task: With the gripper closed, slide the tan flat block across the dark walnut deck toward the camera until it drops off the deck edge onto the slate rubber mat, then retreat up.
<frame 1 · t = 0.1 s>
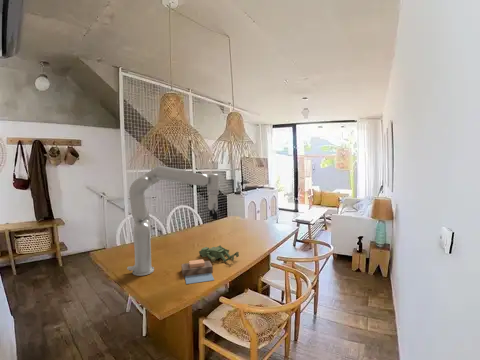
hand: (213, 217, 171), 31 cm above the table, fingers open, 9 cm apart
mat: (199, 278, 150), on the table
tan flat block: (196, 264, 160), point 4 cm above the table, touching deck
deck: (196, 271, 160), on the table
toy: (217, 258, 182), on the table
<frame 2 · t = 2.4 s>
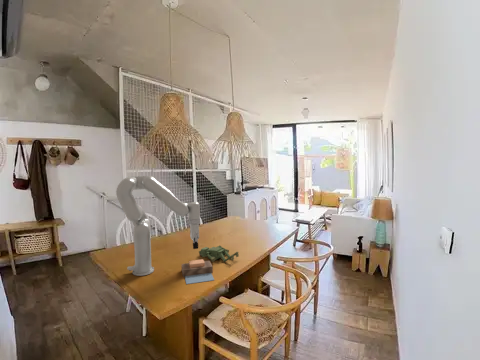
hand: (195, 248, 169), 11 cm above the table, fingers closed
nothing on the table moved.
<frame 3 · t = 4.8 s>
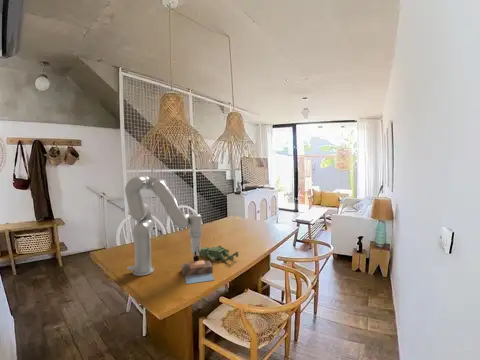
hand: (196, 262, 163), 5 cm above the table, fingers closed
tan flat block: (197, 265, 159), point 4 cm above the table, touching gripper
everything else where it was.
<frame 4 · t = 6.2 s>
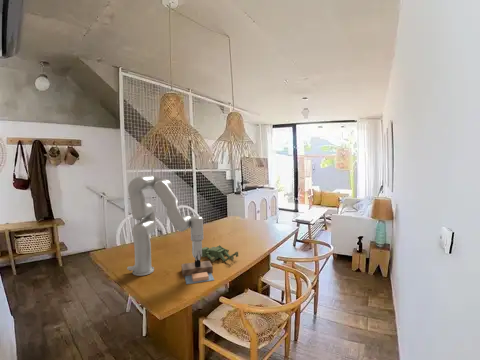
hand: (197, 266, 156), 5 cm above the table, fingers closed
tan flat block: (200, 275, 150), point 2 cm above the table, tilted 180°, touching mat
everything else where it was.
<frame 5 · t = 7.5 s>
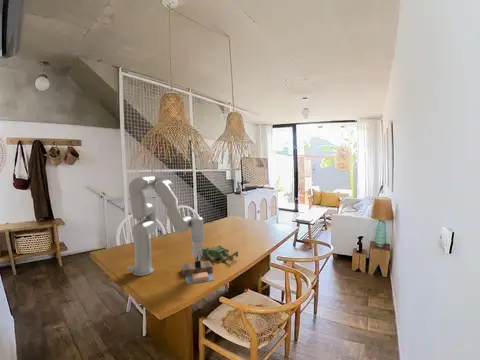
hand: (197, 267, 155), 5 cm above the table, fingers closed
nothing on the table moved.
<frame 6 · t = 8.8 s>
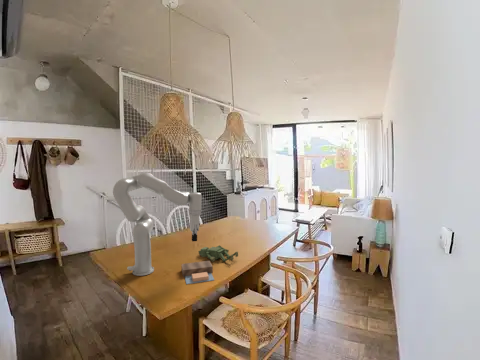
hand: (194, 240, 162), 19 cm above the table, fingers closed
nothing on the table moved.
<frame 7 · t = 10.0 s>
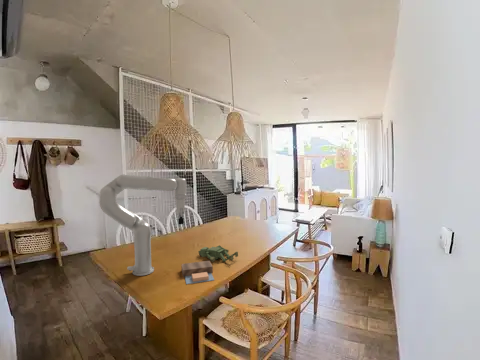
hand: (181, 224, 171), 27 cm above the table, fingers closed
nothing on the table moved.
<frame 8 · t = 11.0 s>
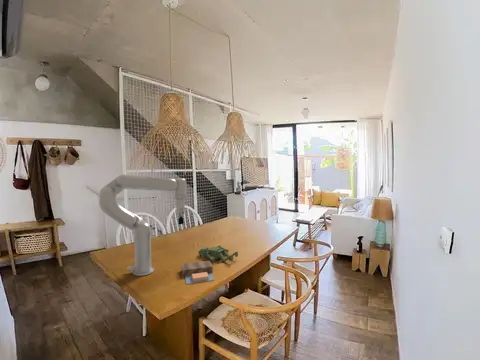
hand: (181, 223, 171), 27 cm above the table, fingers closed
nothing on the table moved.
at the end: tan flat block point 2.3 cm above the table; tan flat block inside the target area on the mat (0.8 cm from its centre), point 2.3 cm above the mat's base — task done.
